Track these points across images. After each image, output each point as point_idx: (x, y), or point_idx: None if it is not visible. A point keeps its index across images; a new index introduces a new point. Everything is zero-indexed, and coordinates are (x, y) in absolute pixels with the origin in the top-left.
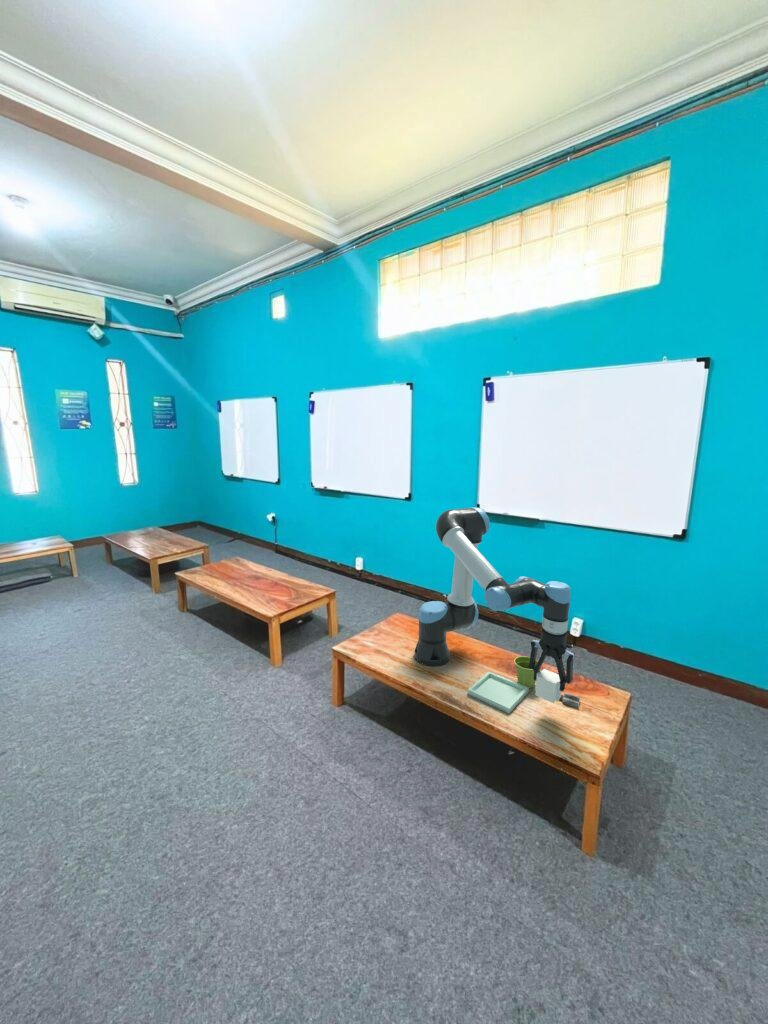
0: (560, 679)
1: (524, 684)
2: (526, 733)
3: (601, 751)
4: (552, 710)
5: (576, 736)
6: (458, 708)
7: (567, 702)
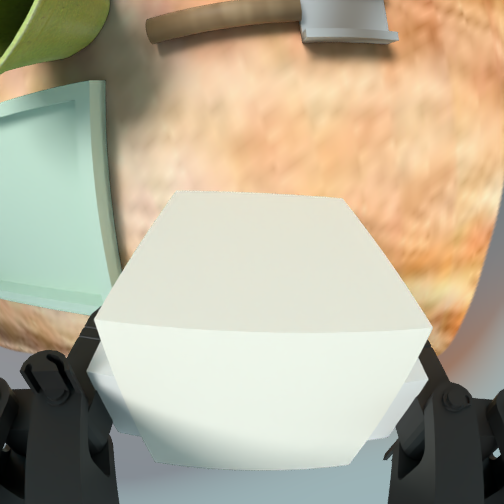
0: (399, 464)
1: (63, 56)
2: None
3: (470, 290)
4: (274, 147)
5: (404, 271)
6: (32, 351)
7: (333, 39)
